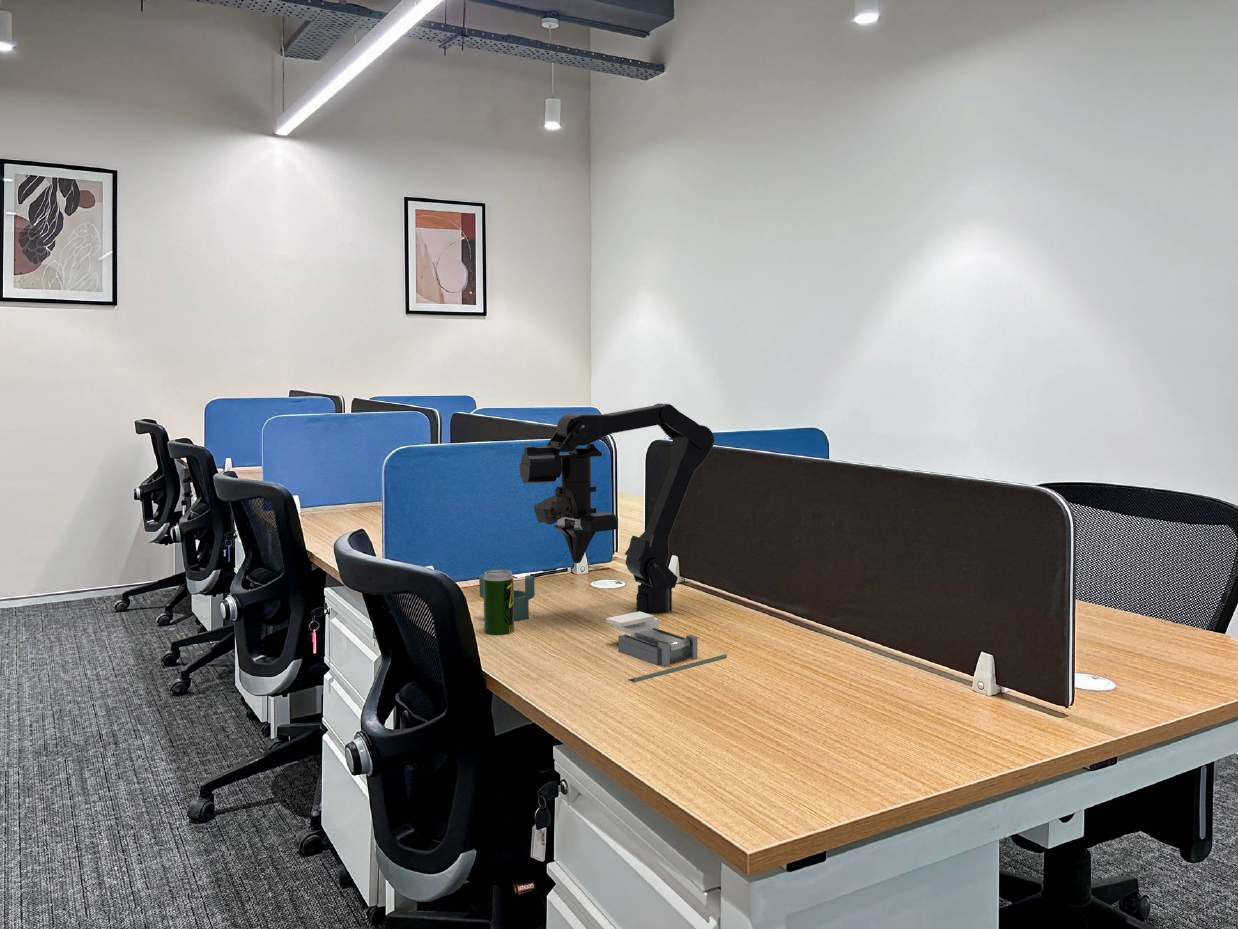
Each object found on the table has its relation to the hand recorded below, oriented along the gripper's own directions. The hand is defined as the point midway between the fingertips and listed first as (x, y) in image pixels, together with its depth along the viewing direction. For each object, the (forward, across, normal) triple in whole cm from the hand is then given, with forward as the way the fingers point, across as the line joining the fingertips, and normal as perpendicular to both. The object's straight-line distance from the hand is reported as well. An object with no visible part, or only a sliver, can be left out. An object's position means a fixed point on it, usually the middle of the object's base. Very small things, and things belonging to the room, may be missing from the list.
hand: (577, 562), depth 176 cm
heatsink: (+11, +27, -3) cm, 29 cm away
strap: (+9, +25, -3) cm, 27 cm away
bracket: (+12, -12, -8) cm, 19 cm away
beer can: (+12, -2, -16) cm, 20 cm away
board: (+12, +20, -3) cm, 24 cm away
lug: (+11, +19, -2) cm, 22 cm away
